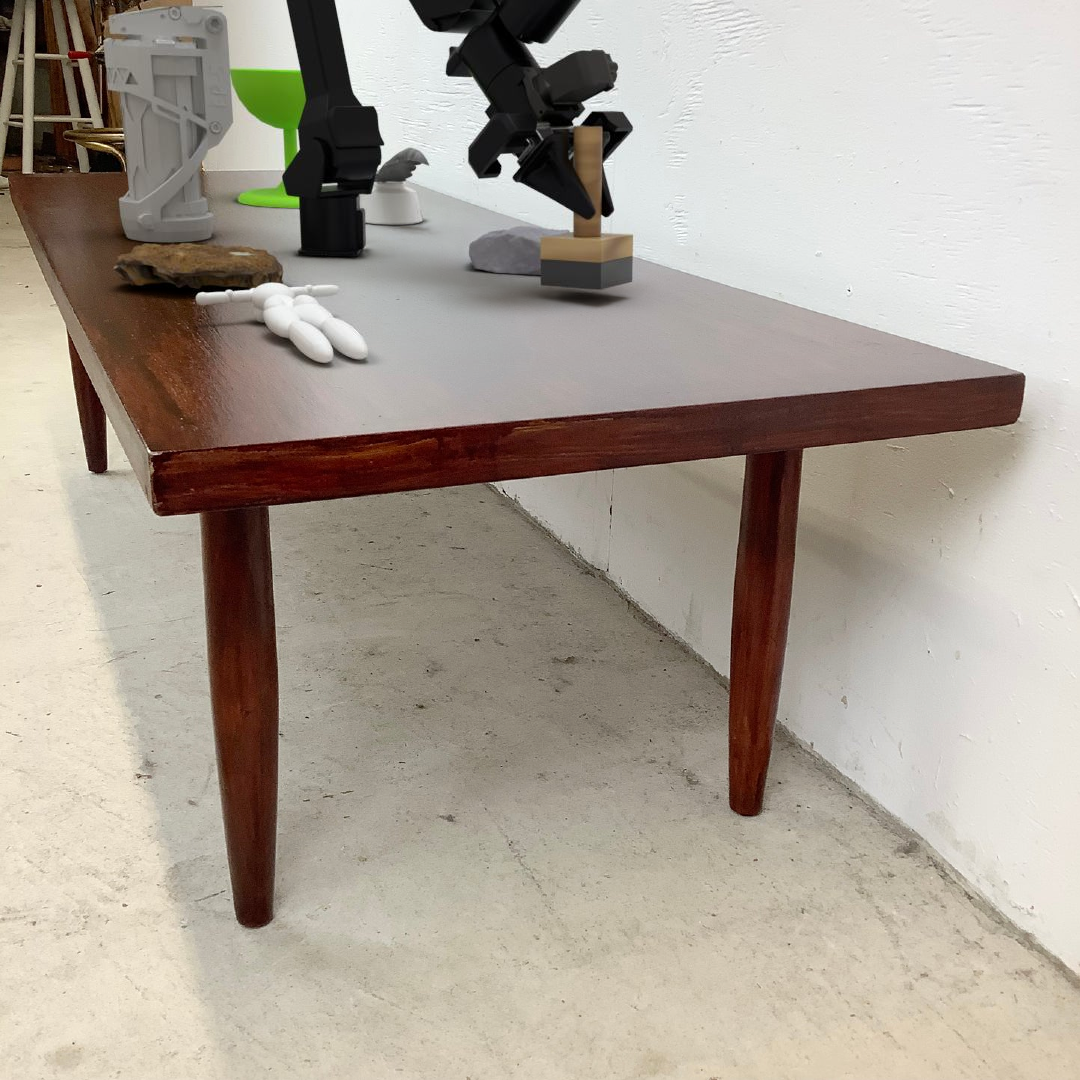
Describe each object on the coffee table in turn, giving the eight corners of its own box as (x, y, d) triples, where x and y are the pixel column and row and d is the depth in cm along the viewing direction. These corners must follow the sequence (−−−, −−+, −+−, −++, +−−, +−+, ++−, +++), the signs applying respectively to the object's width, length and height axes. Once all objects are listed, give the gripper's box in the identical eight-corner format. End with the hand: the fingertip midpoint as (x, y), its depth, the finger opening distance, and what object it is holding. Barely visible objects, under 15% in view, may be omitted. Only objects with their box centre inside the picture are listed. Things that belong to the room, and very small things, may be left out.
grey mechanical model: (135, 244, 130) (112, -2, 120) (113, 231, 138) (89, 0, 128) (248, 239, 136) (234, 5, 126) (220, 227, 144) (205, 7, 135)
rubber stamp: (600, 289, 105) (602, 126, 101) (540, 285, 109) (539, 127, 104) (632, 281, 111) (635, 126, 106) (574, 277, 114) (574, 126, 109)
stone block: (465, 287, 122) (557, 274, 120) (457, 240, 120) (550, 226, 118) (491, 273, 133) (576, 261, 131) (484, 230, 131) (570, 217, 129)
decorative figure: (422, 336, 85) (332, 268, 98) (262, 351, 79) (189, 276, 93) (420, 380, 87) (332, 307, 100) (263, 398, 81) (191, 318, 94)
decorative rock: (124, 306, 100) (294, 303, 107) (121, 259, 99) (294, 259, 105) (106, 276, 110) (264, 275, 116) (103, 232, 108) (264, 234, 114)
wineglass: (337, 209, 165) (333, 73, 158) (225, 205, 165) (216, 69, 158) (355, 197, 180) (352, 72, 173) (252, 193, 180) (245, 68, 173)
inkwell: (405, 215, 162) (404, 139, 158) (466, 232, 148) (466, 150, 144) (343, 217, 157) (341, 139, 154) (400, 235, 143) (399, 151, 140)
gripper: (495, 9, 96) (595, 159, 94) (623, 20, 110) (712, 152, 108) (426, 105, 104) (518, 246, 102) (553, 104, 117) (636, 228, 115)
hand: (601, 215), depth 106 cm, fingers closed on rubber stamp, 2 cm apart
